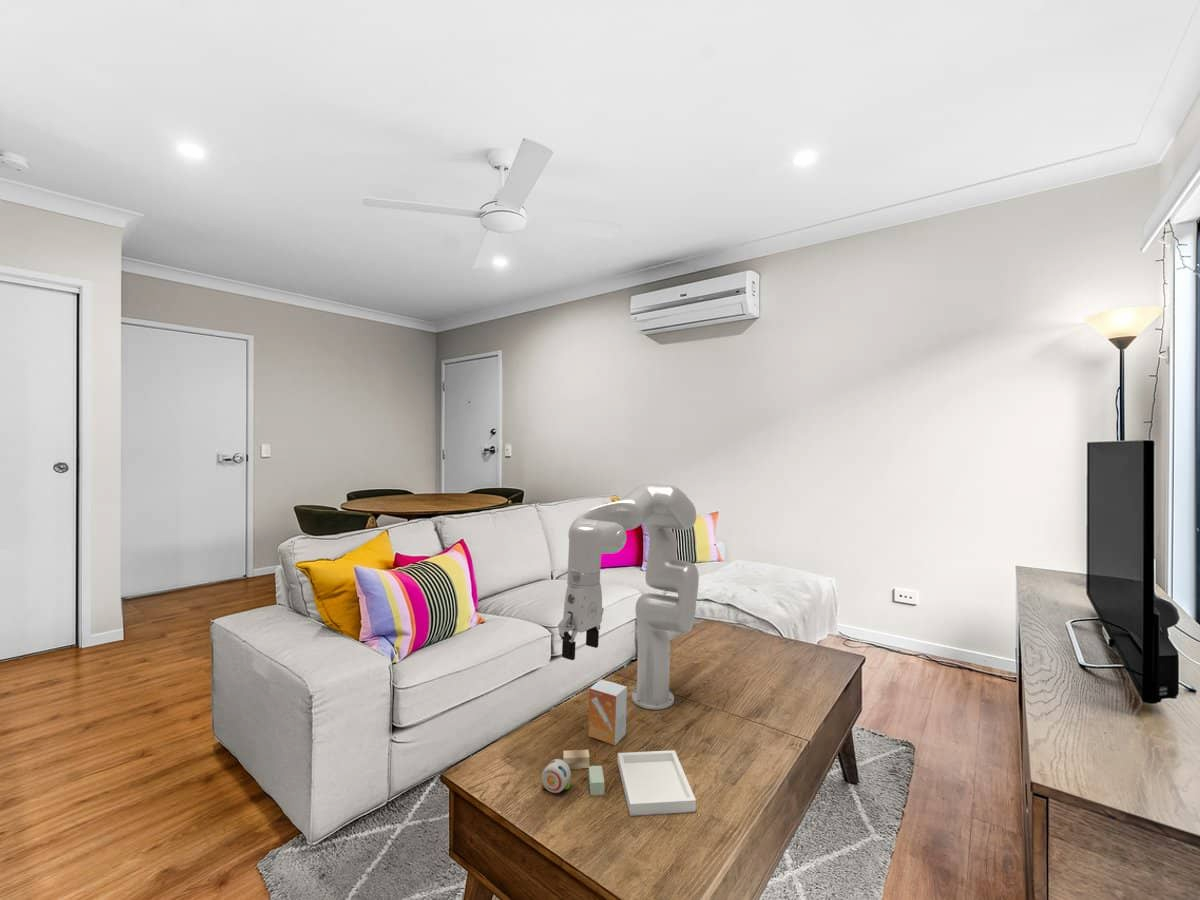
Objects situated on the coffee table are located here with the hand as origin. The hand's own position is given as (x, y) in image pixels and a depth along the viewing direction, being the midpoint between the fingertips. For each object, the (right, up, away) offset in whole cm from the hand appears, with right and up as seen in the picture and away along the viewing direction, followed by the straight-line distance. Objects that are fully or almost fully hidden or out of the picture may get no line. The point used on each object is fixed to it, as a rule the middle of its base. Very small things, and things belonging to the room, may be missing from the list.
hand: (580, 652), depth 125 cm
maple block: (-1, -29, +4) cm, 29 cm away
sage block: (+4, -29, -3) cm, 29 cm away
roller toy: (-5, -29, -4) cm, 30 cm away
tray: (+17, -29, -3) cm, 34 cm away
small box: (+6, -29, +17) cm, 34 cm away
